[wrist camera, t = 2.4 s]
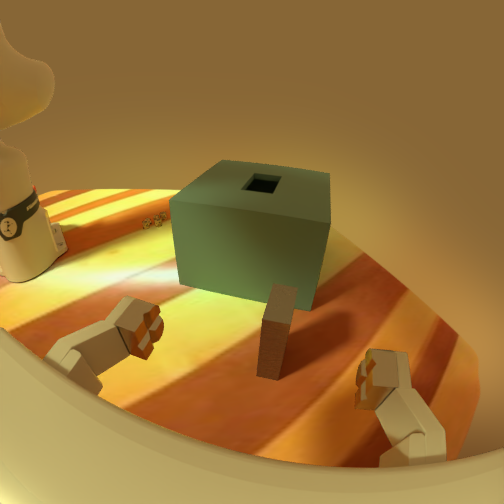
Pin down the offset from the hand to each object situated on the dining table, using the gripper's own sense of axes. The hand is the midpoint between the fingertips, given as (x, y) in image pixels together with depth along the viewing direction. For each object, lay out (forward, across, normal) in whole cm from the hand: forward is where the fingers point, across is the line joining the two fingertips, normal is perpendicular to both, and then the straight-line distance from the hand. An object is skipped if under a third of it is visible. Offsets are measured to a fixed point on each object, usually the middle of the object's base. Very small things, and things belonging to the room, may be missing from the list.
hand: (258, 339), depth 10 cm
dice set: (+38, +31, +20) cm, 53 cm away
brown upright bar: (+12, 0, +20) cm, 23 cm away
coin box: (+32, +7, +20) cm, 38 cm away
